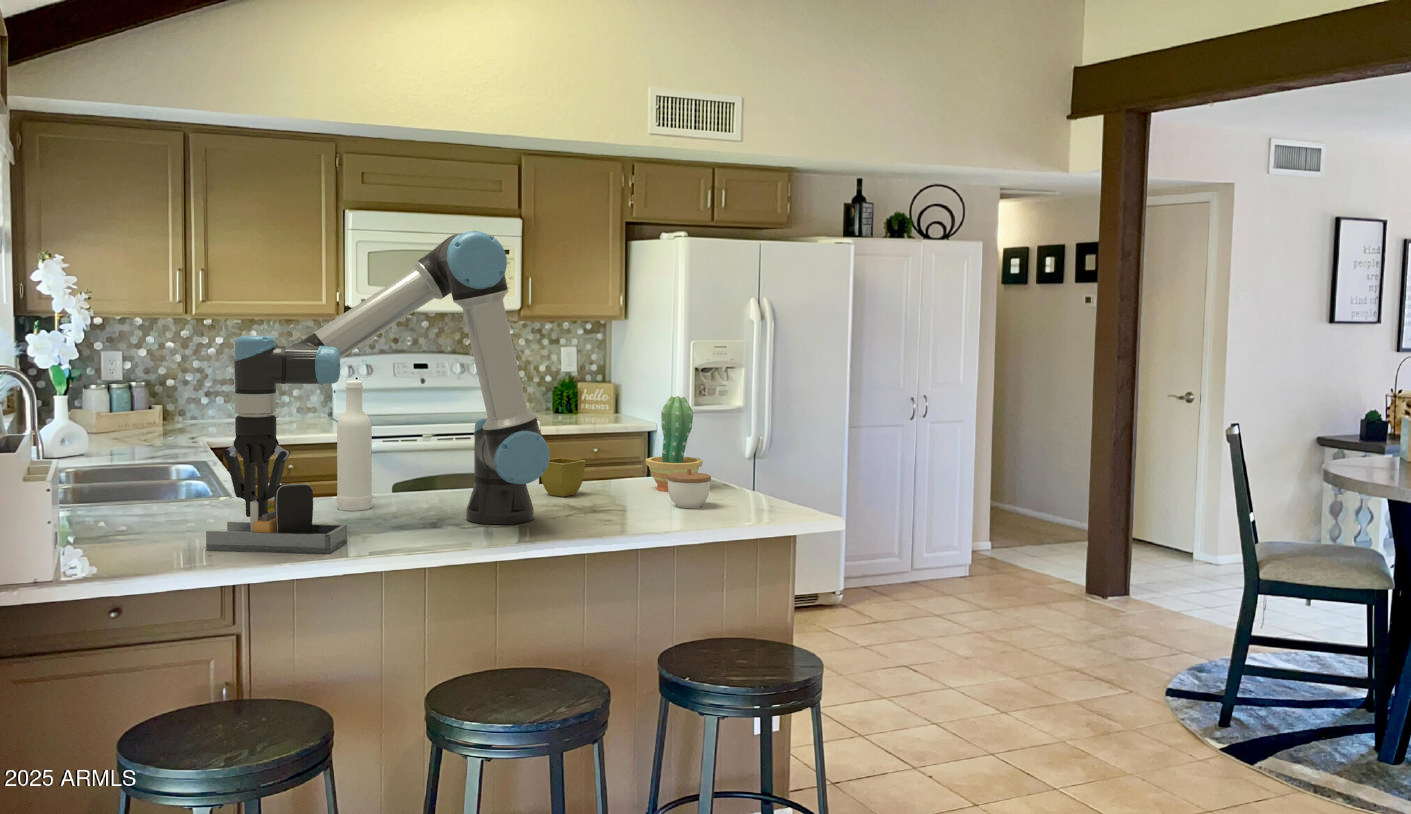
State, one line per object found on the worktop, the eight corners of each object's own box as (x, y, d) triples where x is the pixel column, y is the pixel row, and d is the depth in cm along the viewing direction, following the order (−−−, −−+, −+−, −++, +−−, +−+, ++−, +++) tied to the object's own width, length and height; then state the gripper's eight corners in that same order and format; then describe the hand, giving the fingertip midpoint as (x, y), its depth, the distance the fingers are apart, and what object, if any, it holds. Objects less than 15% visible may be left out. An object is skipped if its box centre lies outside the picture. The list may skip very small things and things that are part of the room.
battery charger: (308, 537, 230) (308, 481, 229) (313, 540, 226) (314, 483, 225) (272, 540, 226) (272, 483, 225) (277, 544, 222) (277, 486, 221)
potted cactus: (712, 488, 310) (715, 396, 308) (682, 496, 297) (684, 400, 294) (665, 482, 318) (667, 393, 315) (633, 489, 305) (635, 396, 302)
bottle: (360, 503, 275) (360, 379, 272) (378, 508, 269) (378, 381, 267) (330, 507, 269) (329, 380, 266) (348, 512, 263) (348, 382, 261)
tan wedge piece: (285, 534, 230) (284, 509, 230) (269, 543, 222) (268, 516, 222) (270, 534, 230) (270, 509, 230) (253, 542, 222) (253, 516, 222)
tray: (346, 543, 231) (346, 524, 231) (329, 553, 221) (329, 534, 221) (229, 539, 231) (228, 521, 231) (206, 550, 221) (206, 531, 221)
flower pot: (537, 495, 293) (537, 460, 292) (560, 491, 300) (560, 457, 299) (563, 499, 288) (563, 463, 287) (586, 494, 295) (586, 460, 294)
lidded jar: (702, 501, 289) (703, 465, 288) (716, 509, 279) (717, 471, 278) (661, 503, 286) (662, 465, 285) (673, 510, 275) (674, 472, 275)
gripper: (296, 413, 228) (296, 530, 230) (231, 411, 228) (232, 528, 230) (281, 417, 220) (282, 538, 222) (214, 415, 220) (215, 536, 223)
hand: (257, 533), depth 226 cm, fingers closed
